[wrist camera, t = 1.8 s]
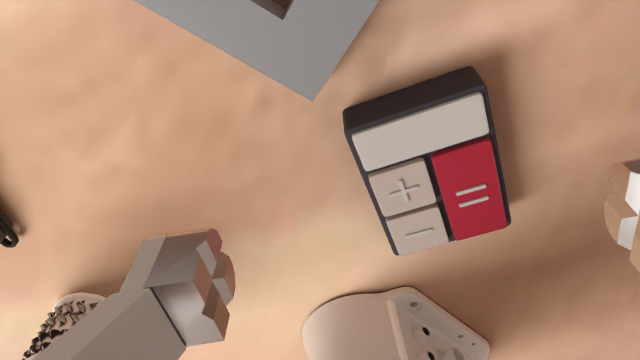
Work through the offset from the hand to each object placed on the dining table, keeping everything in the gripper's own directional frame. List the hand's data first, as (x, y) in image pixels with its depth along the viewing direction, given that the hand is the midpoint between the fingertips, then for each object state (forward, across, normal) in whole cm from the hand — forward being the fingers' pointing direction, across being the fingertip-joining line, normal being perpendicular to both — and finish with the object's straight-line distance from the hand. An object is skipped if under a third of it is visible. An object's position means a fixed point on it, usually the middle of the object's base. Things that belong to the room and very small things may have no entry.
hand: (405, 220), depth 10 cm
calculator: (+28, -4, +17) cm, 33 cm away
